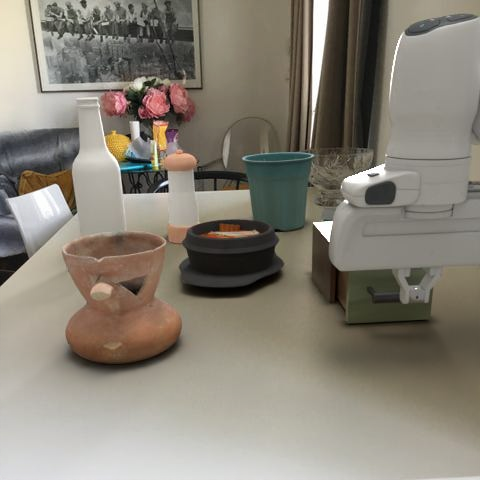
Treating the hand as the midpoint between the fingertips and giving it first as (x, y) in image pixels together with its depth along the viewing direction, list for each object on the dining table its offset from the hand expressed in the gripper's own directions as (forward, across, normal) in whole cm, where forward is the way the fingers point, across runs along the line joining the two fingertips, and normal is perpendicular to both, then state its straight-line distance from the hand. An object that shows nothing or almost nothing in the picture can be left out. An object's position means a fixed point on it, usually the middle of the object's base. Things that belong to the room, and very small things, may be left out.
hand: (413, 302), depth 67 cm
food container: (+7, -4, -42) cm, 43 cm away
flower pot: (+7, +7, -71) cm, 72 cm away
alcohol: (+7, +44, -48) cm, 66 cm away
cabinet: (+7, 0, -24) cm, 25 cm away
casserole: (+7, +20, -35) cm, 41 cm away
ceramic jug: (+7, +35, -6) cm, 36 cm away
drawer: (+6, 0, -13) cm, 14 cm away
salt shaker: (+7, +29, -62) cm, 69 cm away
